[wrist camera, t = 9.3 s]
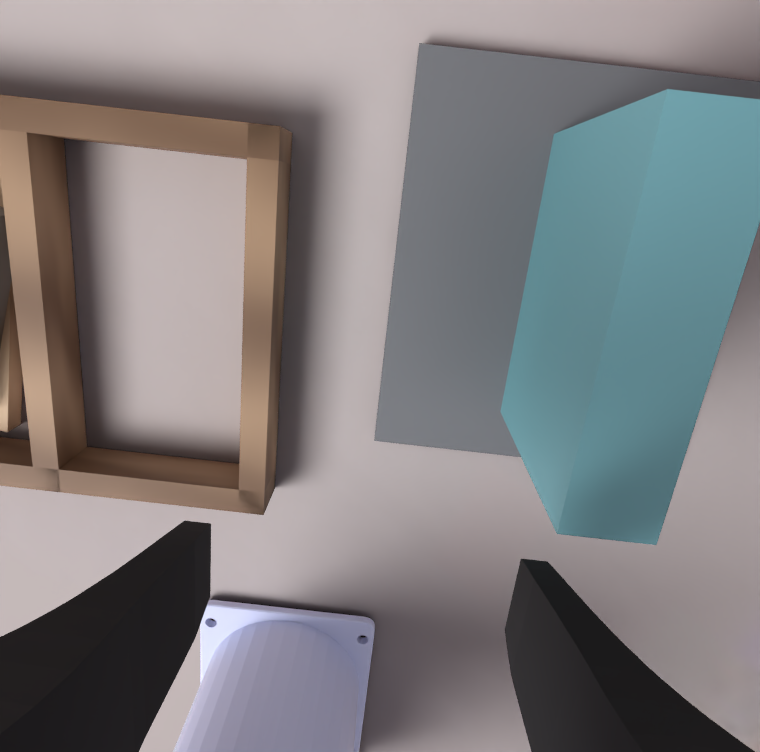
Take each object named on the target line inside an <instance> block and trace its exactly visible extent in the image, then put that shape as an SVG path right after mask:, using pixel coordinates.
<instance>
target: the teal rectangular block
mask: <svg viewBox="0 0 760 752" xmlns="http://www.w3.org/2000/svg"><path fill="white" fill-rule="evenodd" d="M759 223H760V99H751V98H743V97H734V96H725V95H716V94H707V93H698V92H690V91H681V90H672V89H666V90H664V91H661V92H659V93H656V94H654V95H651V96H649V97H646V98H644V99H641V100H639V101H636V102H633V103H631V104H628V105H626V106H623V107H621V108H618V109H616V110H613V111H611V112H608V113H606V114H603V115H601V116H598V117H595V118H593V119H590V120H588V121H585V122H583V123H580V124H578V125H575V126H573V127H570V128H568V129H565V130H563V131H560V132H557V133H555V134H554V136H553V142H552V147H551V152H550V157H549V162H548V168H547V173H546V178H545V183H544V188H543V194H542V199H541V204H540V209H539V214H538V219H537V225H536V230H535V235H534V240H533V245H532V251H531V256H530V261H529V266H528V271H527V276H526V282H525V287H524V292H523V297H522V302H521V308H520V313H519V318H518V323H517V328H516V334H515V339H514V344H513V349H512V354H511V359H510V365H509V370H508V375H507V380H506V385H505V391H504V396H503V401H502V406H501V411H500V412H501V414H502V416H503V419H504V421H505V423H506V425H507V427H508V429H509V432H510V434H511V436H512V438H513V440H514V442H515V444H516V447H517V449H518V451H519V453H520V455H521V457H522V460H523V462H524V464H525V466H526V468H527V470H528V472H529V475H530V477H531V479H532V481H533V483H534V485H535V488H536V490H537V492H538V494H539V496H540V498H541V501H542V503H543V505H544V507H545V509H546V511H547V513H548V516H549V518H550V520H551V522H552V524H553V526H554V529H555V531H556V533H557V534H563V535H572V536H581V537H590V538H599V539H608V540H616V541H625V542H634V543H643V544H652V545H656V544H657V541H658V538H659V535H660V532H661V529H662V526H663V523H664V519H665V516H666V513H667V510H668V507H669V504H670V501H671V498H672V494H673V491H674V488H675V485H676V482H677V479H678V476H679V473H680V470H681V466H682V463H683V460H684V457H685V454H686V451H687V448H688V445H689V441H690V438H691V435H692V432H693V429H694V426H695V423H696V420H697V417H698V413H699V410H700V407H701V404H702V401H703V398H704V395H705V392H706V388H707V385H708V382H709V379H710V376H711V373H712V370H713V367H714V364H715V360H716V357H717V354H718V351H719V348H720V345H721V342H722V339H723V335H724V332H725V329H726V326H727V323H728V320H729V317H730V314H731V311H732V307H733V304H734V301H735V298H736V295H737V292H738V289H739V286H740V282H741V279H742V276H743V273H744V270H745V267H746V264H747V261H748V258H749V254H750V251H751V248H752V245H753V242H754V239H755V236H756V233H757V229H758V226H759Z"/></svg>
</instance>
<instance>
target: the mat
mask: <svg viewBox="0 0 760 752" xmlns="http://www.w3.org/2000/svg"><path fill="white" fill-rule="evenodd" d="M666 89H672V90H681V91H690V92H698V93H707V94H716V95H725V96H734V97H743V98H751V99H760V82H759V81H750V80H741V79H732V78H723V77H715V76H706V75H697V74H688V73H679V72H670V71H661V70H653V69H644V68H635V67H626V66H617V65H608V64H599V63H591V62H582V61H573V60H564V59H555V58H546V57H537V56H529V55H520V54H511V53H502V52H493V51H484V50H475V49H467V48H458V47H449V46H440V45H431V44H422V43H419V51H418V60H417V69H416V78H415V86H414V95H413V104H412V113H411V122H410V130H409V139H408V148H407V157H406V166H405V175H404V183H403V192H402V201H401V210H400V219H399V227H398V236H397V245H396V254H395V263H394V271H393V280H392V289H391V298H390V307H389V315H388V324H387V333H386V342H385V351H384V359H383V368H382V377H381V386H380V395H379V403H378V412H377V421H376V430H375V439H374V441H381V442H390V443H399V444H408V445H417V446H426V447H435V448H444V449H453V450H462V451H471V452H480V453H489V454H497V455H506V456H515V457H521V455H520V453H519V451H518V449H517V447H516V444H515V442H514V440H513V438H512V436H511V434H510V432H509V429H508V427H507V425H506V423H505V421H504V419H503V416H502V414H501V412H500V411H501V406H502V401H503V396H504V391H505V385H506V380H507V375H508V370H509V365H510V359H511V354H512V349H513V344H514V339H515V334H516V328H517V323H518V318H519V313H520V308H521V302H522V297H523V292H524V287H525V282H526V276H527V271H528V266H529V261H530V256H531V251H532V245H533V240H534V235H535V230H536V225H537V219H538V214H539V209H540V204H541V199H542V194H543V188H544V183H545V178H546V173H547V168H548V162H549V157H550V152H551V147H552V142H553V136H554V134H555V133H557V132H560V131H563V130H565V129H568V128H570V127H573V126H575V125H578V124H580V123H583V122H585V121H588V120H590V119H593V118H595V117H598V116H601V115H603V114H606V113H608V112H611V111H613V110H616V109H618V108H621V107H623V106H626V105H628V104H631V103H633V102H636V101H639V100H641V99H644V98H646V97H649V96H651V95H654V94H656V93H659V92H661V91H664V90H666Z"/></svg>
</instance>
